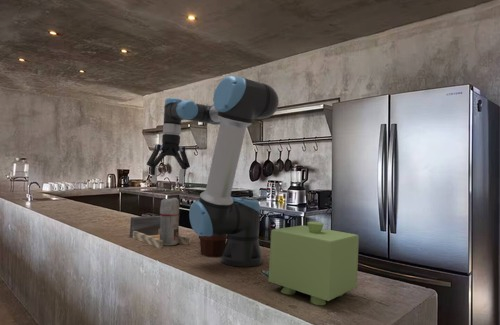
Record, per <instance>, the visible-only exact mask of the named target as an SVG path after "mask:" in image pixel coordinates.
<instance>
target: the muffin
mask: <svg viewBox="0 0 500 325" xmlns="http://www.w3.org/2000/svg"><path fill="white" fill-rule="evenodd" d="M198 239H199V245H200V255H202V256H205V257H221V254H222V251H223V249H224V246H225V244H226V241H227V234H226V235H214V236H199V235H198Z"/></svg>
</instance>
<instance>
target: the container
mask: <svg viewBox="0 0 500 325" xmlns="http://www.w3.org/2000/svg"><path fill="white" fill-rule="evenodd" d="M306 224H307V225H303V224H302V225H296V226H289V227H282V228H274V229H271V230H270V231H271V232H270V250H269V264H268V267H269V268H268V282H270V283H272V284H275V285H278V286H281V287H283V288H282V289H281V290H280V293H282V294H284V295H294V294H295V293H297V292H300V293H303V294H306V295H309V296H310V303H311V304H313V305H316V306H317V305H318V306H324V305H326V304H327V302H329V301H331V300H333V299H335V298H337V297H342V296H344V294H346V293H347V292H349V291H352V290H353V289H355V288H357V286H358V267H359V265H358V263H359V244H360V243H359V238H360V236H359V234H355V233H350V232H344V231H338V230H331V229H326V228H324V223H323V222H321V221H313V220H312V221H308V222H307V223H306ZM296 291H297V292H296Z"/></svg>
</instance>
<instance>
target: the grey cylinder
mask: <svg viewBox="0 0 500 325" xmlns="http://www.w3.org/2000/svg"><path fill="white" fill-rule="evenodd" d="M159 216H160V240H163V246H177V244H179V242H178V234H180V233H179V231H180V230H179V227H180V226H179V225H180V224H179V222H180V200H179V198H177V197H172V198H167V199H166V198H165V199H162V200H161V201H160V208H159Z"/></svg>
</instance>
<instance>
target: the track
mask: <svg viewBox="0 0 500 325" xmlns="http://www.w3.org/2000/svg"><path fill="white" fill-rule="evenodd" d="M129 224H130V225H129V238H132V239H134V240H137V241H140V242H142V243H145V244H147V245H150V246H152V247H155V248H157V249H163V247H164V245H163V240H160V215H150V216H149V215H148V216H147V215H144V216H130V223H129ZM179 243H180V244H182V245H185V246H186V245H190V236H186V235H182V234H180V233H179V234H178V244H179Z"/></svg>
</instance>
